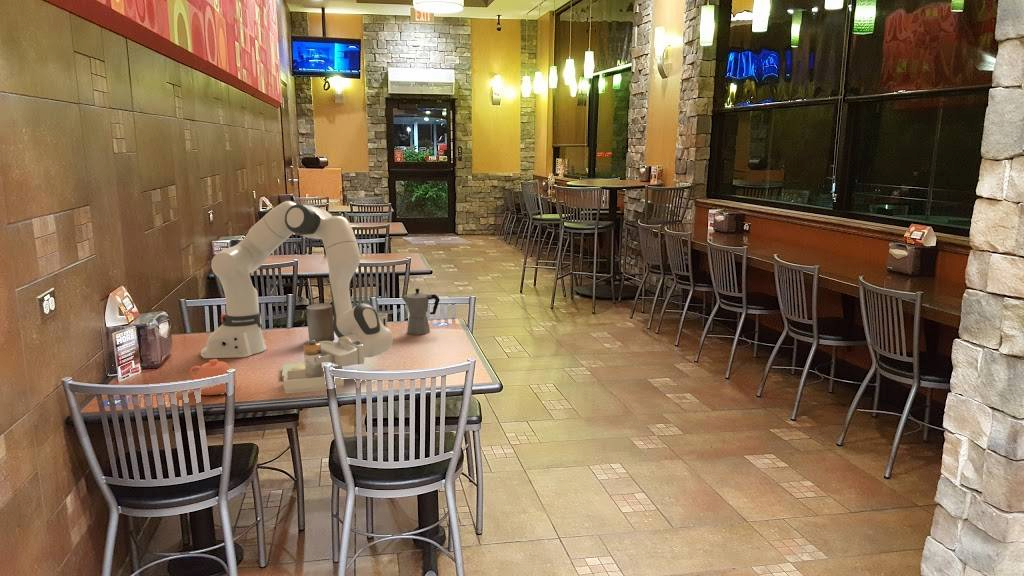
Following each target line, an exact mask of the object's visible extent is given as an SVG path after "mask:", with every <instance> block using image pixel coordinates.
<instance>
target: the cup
mask: <svg viewBox="0 0 1024 576" xmlns="http://www.w3.org/2000/svg"><path fill="white" fill-rule="evenodd" d="M377 314H378V317H379V319H380V321H381V322H382V324H383V325H384V326H385V327H386V328H388V313H386V312H377Z"/></svg>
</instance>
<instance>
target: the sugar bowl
mask: <svg viewBox="0 0 1024 576" xmlns="http://www.w3.org/2000/svg"><path fill="white" fill-rule="evenodd" d="M195 369H197V372H196V374H195V375H194V372H193V370H195ZM229 369H232V368H231V366H230V365H229V364H228V363H227V362H225V361H219V360H218V358H210V359H209V360H208V362H205V363H203V364H202V365H201V366H200V365H193V366H192V367H190V369H189V376H190V379H191V380H194V379H201V378H206V377H213V376H218V375H223V374H225V373H226V372H227V370H229ZM237 384H238V379H237V375H236V374H235V386H237ZM201 393H202V394H203V395H206V396H214V395H215V396H217V395H218V394H222V393H225V384H220V385H216V386H213V387H209V388H205V389H202V390H201ZM202 394H201V395H202ZM225 394H226V393H225ZM203 395H202V396H203Z"/></svg>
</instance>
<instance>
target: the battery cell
mask: <svg viewBox="0 0 1024 576" xmlns="http://www.w3.org/2000/svg"><path fill="white" fill-rule="evenodd" d="M304 356H305V358H304V363H305V371H306V378H315V377H322V367H323V365H322V363H323V362H322V363H316V362H315V359H314V358H315V357H318V356H321V343H320V342H315V340H309V339H308V341H307V342H305V343H303V357H304Z"/></svg>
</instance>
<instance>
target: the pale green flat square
mask: <svg viewBox="0 0 1024 576" xmlns="http://www.w3.org/2000/svg"><path fill="white" fill-rule="evenodd" d="M297 369H305V362H301V363H300V362H299V363H288V364H286V363H285V364H283V365H282V372H281V380H282V381H284V375H285V371H286V370H297Z"/></svg>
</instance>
